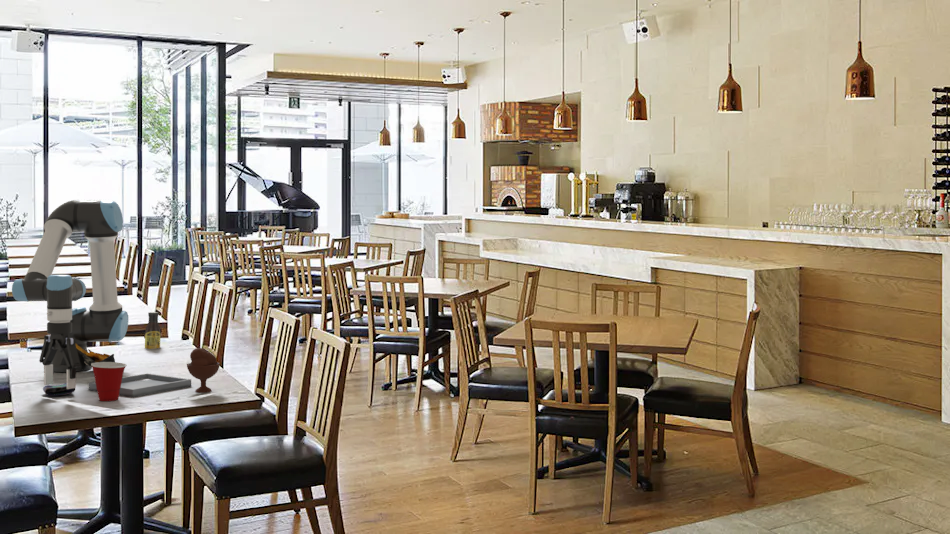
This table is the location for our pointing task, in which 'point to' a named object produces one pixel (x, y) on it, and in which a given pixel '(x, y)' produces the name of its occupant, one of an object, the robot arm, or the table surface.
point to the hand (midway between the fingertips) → (59, 386)
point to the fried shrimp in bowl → (95, 357)
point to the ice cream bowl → (202, 367)
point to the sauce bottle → (152, 332)
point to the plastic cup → (108, 379)
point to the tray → (147, 384)
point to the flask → (57, 389)
